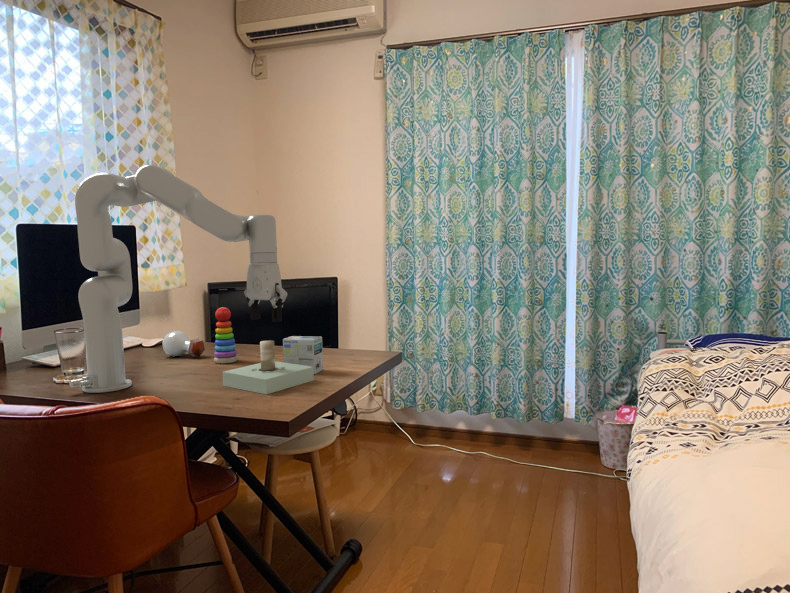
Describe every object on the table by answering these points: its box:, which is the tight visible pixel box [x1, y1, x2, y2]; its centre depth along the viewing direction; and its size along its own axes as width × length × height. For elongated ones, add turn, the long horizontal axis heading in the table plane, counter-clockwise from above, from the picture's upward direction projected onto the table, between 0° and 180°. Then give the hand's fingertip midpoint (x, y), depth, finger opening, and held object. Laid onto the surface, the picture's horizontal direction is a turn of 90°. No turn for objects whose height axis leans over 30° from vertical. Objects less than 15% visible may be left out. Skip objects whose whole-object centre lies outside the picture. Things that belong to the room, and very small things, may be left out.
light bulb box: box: [282, 335, 324, 375], centre depth 179 cm, size 11×7×11 cm, turn 74°
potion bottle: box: [162, 330, 206, 358], centre depth 208 cm, size 9×10×15 cm
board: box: [222, 360, 315, 395], centre depth 165 cm, size 18×18×4 cm
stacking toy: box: [213, 306, 239, 365], centre depth 196 cm, size 8×8×19 cm
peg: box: [259, 339, 276, 372], centre depth 165 cm, size 4×4×12 cm
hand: (266, 320), depth 164 cm, fingers open, 8 cm apart
